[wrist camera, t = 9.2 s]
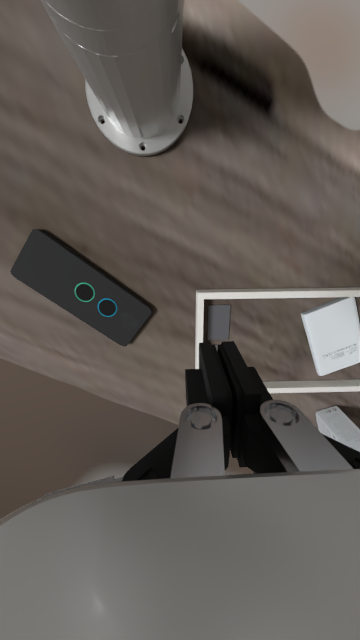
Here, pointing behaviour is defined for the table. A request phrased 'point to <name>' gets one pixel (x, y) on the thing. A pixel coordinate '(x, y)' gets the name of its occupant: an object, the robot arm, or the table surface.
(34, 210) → the table surface
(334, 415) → the skincare box
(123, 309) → the smart home device
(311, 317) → the external hard drive
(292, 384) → the box
